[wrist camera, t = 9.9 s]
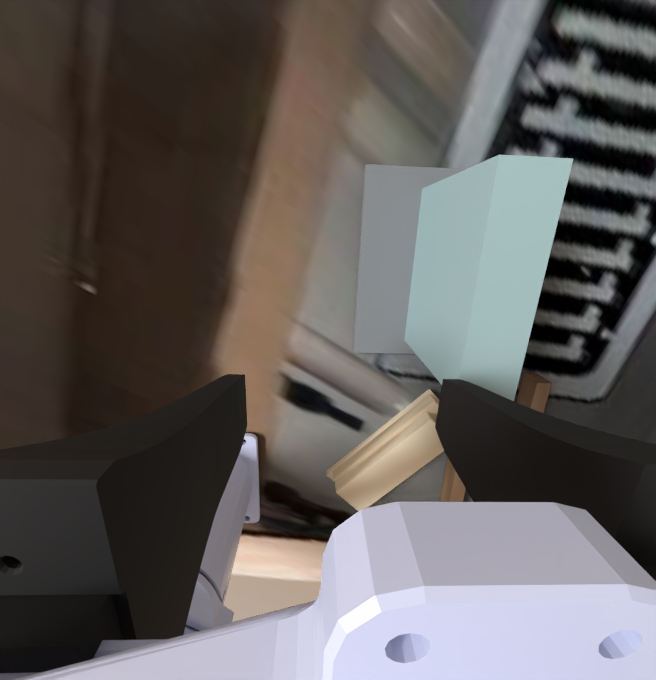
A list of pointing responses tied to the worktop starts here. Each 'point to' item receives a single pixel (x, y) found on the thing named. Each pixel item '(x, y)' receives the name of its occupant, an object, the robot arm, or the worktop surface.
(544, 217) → the tall board
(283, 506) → the worktop surface
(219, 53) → the worktop surface
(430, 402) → the offcut planks
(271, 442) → the worktop surface
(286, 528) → the worktop surface
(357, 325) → the slate mat
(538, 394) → the walnut rack
